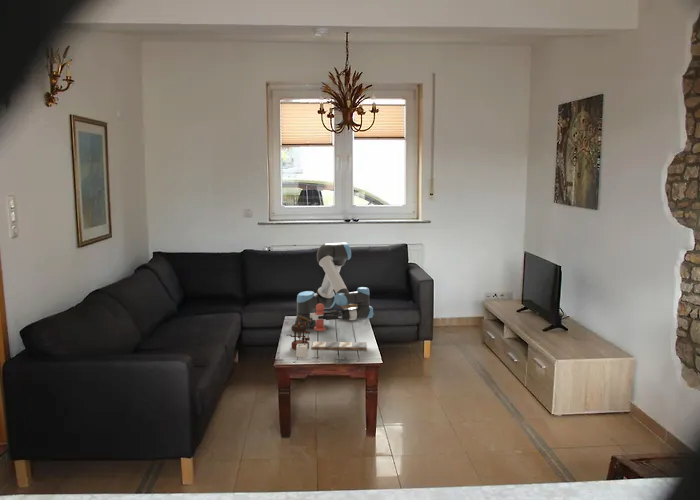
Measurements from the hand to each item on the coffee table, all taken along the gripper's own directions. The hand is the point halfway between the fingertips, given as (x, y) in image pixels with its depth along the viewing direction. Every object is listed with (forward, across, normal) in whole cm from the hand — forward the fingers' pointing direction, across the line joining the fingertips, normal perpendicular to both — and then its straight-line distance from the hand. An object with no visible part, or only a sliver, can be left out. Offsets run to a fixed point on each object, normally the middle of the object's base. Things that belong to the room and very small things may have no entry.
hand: (311, 316), depth 354 cm
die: (+9, -13, -19) cm, 25 cm away
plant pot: (-48, +66, -19) cm, 84 cm away
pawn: (-5, 0, -8) cm, 10 cm away
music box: (+7, +1, -19) cm, 21 cm away
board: (-16, -4, -19) cm, 25 cm away
